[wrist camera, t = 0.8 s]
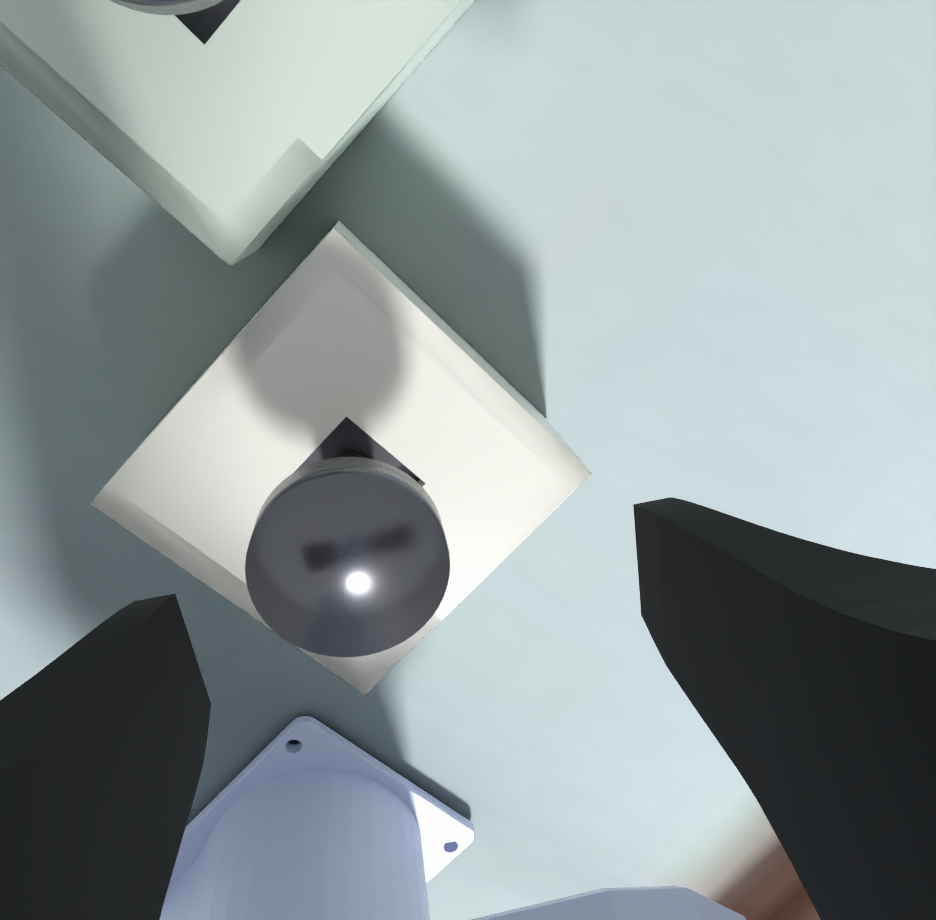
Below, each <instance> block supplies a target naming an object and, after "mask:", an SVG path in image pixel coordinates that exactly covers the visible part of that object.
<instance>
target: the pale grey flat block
mask: <svg viewBox="0 0 936 920" xmlns="http://www.w3.org/2000/svg"><path fill="white" fill-rule="evenodd" d="M474 1H475V0H241V1H240V2H239V3H238V4H237V6H236V7H235V8H234V9H233V10H232V12H231V13H230V14H229V15H228V17H227V18H226V19H225V20H224V22H223V23H222V24H221V25H220V26H219V28H218V29H217V30H216V31H215V33H214V34H213V35H212V36H211V37H210V39H209V40H208V41H207V42H206V44H205V45H204V44H203V43H202V42H201V41H200V40H199V39H198V38H197V37H196V36H195V35H194V34H193V33H192V32H191V31H190V30H189V29H188V28H187V27H186V26H185V25H184V24H183V23H182V22H181V21H180V20H179V19H178V18H177V17H176V16H175V15H158V14H148V13H144V12H140V11H135V10H132V9H129V8H126V7H124V6H121V5H118V4H116V3H114V2H112V1H110V0H0V66H1V67H3V68H4V69H5V70H6V71H7V72H8V73H9V74H11V75H12V76H13V77H14V78H15V79H16V80H17V81H19V82H20V83H21V84H22V85H23V86H24V87H25V88H27V89H28V90H29V91H30V92H31V93H32V94H33V95H35V96H36V97H37V98H38V99H39V100H40V101H41V102H43V103H44V104H45V105H46V106H47V107H48V108H49V109H51V110H52V111H53V112H54V113H55V114H56V115H57V116H59V117H60V118H61V119H62V120H63V121H64V122H65V123H67V124H68V125H69V126H70V127H71V128H72V129H73V130H75V131H76V132H77V133H78V134H79V135H80V136H81V137H83V138H84V139H85V140H86V141H87V142H88V143H89V144H91V145H92V146H93V147H94V148H95V149H96V150H97V151H99V152H100V153H101V154H102V155H103V156H104V157H105V158H107V159H108V160H109V161H110V162H111V163H112V164H113V165H115V166H116V167H117V168H118V169H119V170H120V171H121V172H123V173H124V174H125V175H126V176H127V177H128V178H129V179H130V180H132V181H133V182H134V183H135V184H136V185H137V186H138V187H140V188H141V189H142V190H143V191H144V192H145V193H146V194H148V195H149V196H150V197H151V198H152V199H153V200H154V201H156V202H157V203H158V204H159V205H160V206H161V207H162V208H164V209H165V210H166V211H167V212H168V213H169V214H170V215H172V216H173V217H174V218H175V219H176V220H177V221H178V222H180V223H181V224H182V225H183V226H184V227H185V228H186V229H188V230H189V231H190V232H191V233H192V234H193V235H194V236H196V237H197V238H198V239H199V240H200V241H201V242H202V243H204V244H205V245H206V246H207V247H208V248H209V249H210V250H212V251H213V252H214V253H215V254H216V255H217V256H218V257H220V258H221V259H222V260H223V261H224V262H225V263H226V264H228V265H229V266H231V265H233V264H235V263H237V262H238V261H240V260H242V259H243V258H245V257H247V256H249V255H250V254H252V253H254V252H255V251H257V250H258V249H259V248H260V247H261V246H262V245H263V243H264V242H265V241H266V240H267V239H268V238H269V237H270V235H271V234H272V233H273V232H274V231H275V230H276V228H277V227H278V226H279V225H280V224H281V223H282V222H283V220H284V219H285V218H286V217H287V216H288V215H289V214H290V212H291V211H292V210H293V209H294V208H295V207H296V206H297V204H298V203H299V202H300V201H301V200H302V199H303V198H304V196H305V195H306V194H307V193H308V192H309V191H310V190H311V188H312V187H313V186H314V185H315V184H316V183H317V181H318V180H319V179H320V178H321V177H322V176H323V175H324V173H325V172H326V171H327V170H328V169H329V168H330V167H331V165H332V164H333V163H334V162H335V161H336V160H337V159H338V157H339V156H340V155H341V154H342V153H343V152H344V151H345V149H346V148H347V147H348V146H349V145H350V144H351V143H352V141H353V140H354V139H355V138H356V137H357V136H358V134H359V133H360V132H361V131H362V130H363V129H364V128H365V126H366V125H367V124H368V123H369V122H370V121H371V120H372V118H373V117H374V116H375V115H376V114H377V113H378V112H379V110H380V109H381V108H382V107H383V106H384V105H385V104H386V102H387V101H388V100H389V99H390V98H391V97H392V96H393V94H394V93H395V92H396V91H397V90H398V89H399V88H400V86H401V85H402V84H403V83H404V82H405V81H406V79H407V78H408V77H409V76H410V75H411V74H412V73H413V71H414V70H415V69H416V68H417V67H418V66H419V65H420V63H421V62H422V61H423V60H424V59H425V58H426V57H427V55H428V54H429V53H430V52H431V51H432V50H433V49H434V47H435V46H436V45H437V44H438V43H439V42H440V41H441V39H442V38H443V37H444V36H445V35H446V34H447V32H448V31H449V30H450V29H451V28H452V27H453V26H454V24H455V23H456V22H457V21H458V20H459V19H460V18H461V16H462V15H463V14H464V13H465V12H466V11H467V10H468V8H469V7H470V6H471V5H472V4H473V2H474Z"/></svg>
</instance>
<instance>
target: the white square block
mask: <svg viewBox="0 0 936 920" xmlns="http://www.w3.org/2000/svg"><path fill="white" fill-rule="evenodd" d="M346 416H347V417H348V418H349V419H350V420H351V421H353V422H354V423H355V424H356V425H357V426H359V427H360V428H361V429H362V430H363V431H364V432H366V433H367V434H368V435H369V436H370V437H371V438H373V439H374V440H375V441H376V442H377V443H379V444H380V445H381V446H382V447H383V448H384V449H386V450H387V451H388V452H389V453H390V454H392V455H393V456H394V457H395V458H396V459H397V460H399V461H400V462H401V463H402V464H403V465H404V466H406V467H407V468H408V469H409V470H410V471H412V472H413V473H414V474H415V475H416V476H417V477H419V478H420V480H419V481H418V483H419V484H420V485H421V486H422V487H423V488H424V490H425V491H426V492H427V493H428V495H429V496H430V497H431V499H432V501H433V502H434V504H435V506H436V508H437V510H438V513H439V515H440V518H441V522H442V526H443V529H444V533H445V537H446V541H447V545H448V549H449V556H450V575H449V580H448V585H447V589H446V591H445V594H444V597H443V599H442V601H441V603H440V605H439V607H438V609H437V610H436V612H435V613H434V615H433V616H432V617H431V619H430V620H429V621H428V622H427V623H426V624H425V625H424V626H423V627H422V628H421V629H420V630H419V631H418V632H417V633H415V634H414V635H413V636H411V637H410V638H408V639H407V640H405V641H404V642H402V643H400V644H398V645H396V646H394V647H392V648H390V649H387V650H385V651H382V652H379V653H375V654H371V655H366V656H359V657H331V656H325V655H320V654H316V653H313V652H310V651H306V650H304V649H302V648H299V647H297V646H295V645H294V646H295V647H296V648H298V649H299V650H301V651H302V652H304V653H305V654H306V655H308V656H309V657H311V658H312V659H314V660H315V661H317V662H318V663H319V664H321V665H322V666H324V667H325V668H327V669H328V670H330V671H331V672H332V673H334V674H335V675H337V676H338V677H340V678H341V679H342V680H344V681H345V682H347V683H348V684H350V685H351V686H353V687H354V688H355V689H357V690H358V691H360V692H361V693H363V694H364V695H366V694H367V693H368V692H369V691H370V690H371V689H372V688H373V687H374V686H375V685H376V684H377V683H378V682H379V681H380V680H381V679H382V678H383V677H384V676H385V675H386V674H388V673H389V672H390V671H391V670H392V669H393V668H394V667H395V666H396V665H397V664H398V663H399V662H400V661H401V660H402V659H403V658H404V657H405V656H406V655H407V654H408V653H409V652H410V651H411V650H412V649H413V648H414V647H415V646H416V645H417V644H418V643H419V642H420V641H421V640H422V639H423V638H424V637H425V636H426V635H427V634H428V633H429V632H430V631H432V630H433V629H434V628H435V627H436V626H437V625H438V624H439V623H440V622H441V621H442V620H443V619H444V618H445V617H446V616H447V615H448V614H449V613H450V612H451V611H452V610H453V609H454V608H455V607H456V606H457V605H458V604H459V603H460V602H461V601H462V600H463V599H464V598H465V597H466V596H467V595H468V594H469V593H470V592H471V591H472V590H473V589H474V588H476V587H477V586H478V585H479V584H480V583H481V582H482V581H483V580H484V579H485V578H486V577H487V576H488V575H489V574H490V573H491V572H492V571H493V570H494V569H495V568H496V567H497V566H498V565H499V564H500V563H501V562H502V561H503V560H504V559H505V558H506V557H507V556H508V555H509V554H510V553H511V552H512V551H513V550H514V549H515V548H516V547H517V546H518V545H520V544H521V543H522V542H523V541H524V540H525V539H526V538H527V537H528V536H529V535H530V534H531V533H532V532H533V531H534V530H535V529H536V528H537V527H538V526H539V525H540V524H541V523H542V522H543V521H544V520H545V519H546V518H547V517H548V516H549V515H550V514H551V513H552V512H553V511H554V510H555V509H556V508H557V507H558V506H559V505H560V504H561V503H562V502H563V501H565V500H566V499H567V498H568V497H569V496H570V495H571V494H572V493H573V492H574V491H575V490H576V489H577V488H578V487H579V486H580V485H581V484H582V483H583V482H584V481H585V480H586V479H587V478H588V477H589V476H590V475H591V474H592V473H591V472H590V470H589V469H588V468H587V467H586V466H585V464H584V463H583V462H582V461H581V460H580V458H579V457H578V456H577V455H576V454H575V452H574V451H573V450H572V449H571V448H570V446H569V445H568V444H567V443H566V442H565V440H564V439H563V438H562V437H561V436H560V434H559V433H558V432H557V431H556V430H555V428H554V427H553V426H552V425H551V424H550V422H549V421H548V420H547V419H546V418H545V417H544V416H543V415H542V414H541V413H540V412H539V411H538V410H537V409H535V408H534V407H533V406H532V405H531V404H530V403H529V402H528V401H527V400H526V399H525V398H524V397H523V396H522V395H521V394H520V393H519V392H518V391H517V390H516V389H515V388H514V387H513V386H511V385H510V384H509V383H508V382H507V381H506V380H505V379H504V378H503V377H502V376H501V375H500V374H499V373H498V372H497V371H496V370H495V369H494V368H493V367H492V366H491V365H490V364H488V363H487V362H486V361H485V360H484V359H483V358H482V357H481V356H480V355H479V354H478V353H477V352H476V351H475V350H474V349H473V348H472V347H471V346H470V345H469V344H468V343H467V342H466V341H464V340H463V339H462V338H461V337H460V336H459V335H458V334H457V333H456V332H455V331H454V330H453V329H452V328H451V327H450V326H449V325H448V324H447V323H446V322H445V321H444V320H443V319H441V318H440V317H439V316H438V315H437V314H436V313H435V312H434V311H433V310H432V309H431V308H430V307H429V306H428V305H427V304H426V303H425V302H424V301H423V300H422V299H421V298H420V297H419V296H417V295H416V294H415V293H414V292H413V291H412V290H411V289H410V288H409V287H408V286H407V285H406V284H405V283H404V282H403V281H402V280H401V279H400V278H399V277H398V276H397V275H396V274H394V273H393V272H392V271H391V270H390V269H389V268H388V267H387V266H386V265H385V264H384V263H383V262H382V261H381V260H380V259H379V258H378V257H377V256H376V255H375V254H374V253H373V252H372V251H370V250H369V249H368V248H367V247H366V246H365V245H364V244H363V243H362V242H361V241H360V240H359V239H358V238H357V237H356V236H355V235H354V234H353V233H352V232H351V231H350V230H349V229H348V228H346V227H345V226H344V225H343V224H342V223H341V222H340V221H338V222H337V223H336V224H335V225H334V226H333V227H332V229H331V230H330V231H329V232H328V233H327V234H326V235H325V237H324V238H323V239H322V240H321V241H320V242H319V243H318V244H317V246H316V247H315V248H314V249H313V250H312V251H311V252H310V253H309V255H308V256H307V257H306V258H305V259H304V260H303V261H302V262H301V264H300V265H299V266H298V267H297V268H296V269H295V270H294V271H293V273H292V274H291V275H290V276H289V277H288V278H287V279H286V280H285V282H284V283H283V284H282V285H281V286H280V287H279V288H278V289H277V291H276V292H275V293H274V294H273V295H272V296H271V297H270V299H269V300H268V301H267V302H266V303H265V304H264V305H263V306H262V308H261V309H260V310H259V311H258V312H257V313H256V314H255V315H254V317H253V318H252V319H251V320H250V321H249V322H248V323H247V324H246V326H245V327H244V328H243V329H242V330H241V331H240V332H239V333H238V335H237V336H236V337H235V338H234V339H233V340H232V341H231V342H230V344H229V345H228V346H227V347H226V348H225V349H224V350H223V351H222V353H221V354H220V355H219V356H218V357H217V358H216V359H215V361H214V362H213V363H212V364H211V365H210V366H209V367H208V368H207V370H206V371H205V372H204V373H203V374H202V375H201V376H200V377H199V379H198V380H197V381H196V382H195V383H194V384H193V385H192V386H191V388H190V389H189V390H188V391H187V392H186V393H185V394H184V395H183V397H182V398H181V399H180V400H179V401H178V402H177V403H176V404H175V406H174V407H173V408H172V409H171V410H170V411H169V412H168V413H167V415H166V416H165V417H164V418H163V419H162V420H161V421H160V423H159V424H158V425H157V426H156V427H155V428H154V429H153V430H152V432H151V433H150V434H149V435H148V436H147V437H146V438H145V439H144V441H143V442H142V443H141V444H140V445H139V446H138V448H137V449H136V450H135V451H134V452H133V453H132V455H131V456H130V457H129V458H128V459H127V460H126V461H125V463H124V464H123V465H122V466H121V467H120V468H119V470H118V471H117V472H116V473H115V474H114V475H113V477H112V478H111V479H110V480H109V481H108V482H107V484H106V485H105V486H104V487H103V488H102V489H101V491H100V492H99V493H98V494H97V495H96V496H95V497H94V499H93V500H92V501H91V502H90V503H89V504H91V505H92V506H94V507H95V508H96V509H98V510H99V511H101V512H102V513H104V514H105V515H106V516H108V517H109V518H111V519H112V520H114V521H115V522H117V523H118V524H119V525H121V526H122V527H124V528H125V529H127V530H128V531H129V532H131V533H132V534H134V535H135V536H137V537H138V538H140V539H141V540H142V541H144V542H145V543H147V544H148V545H150V546H151V547H153V548H154V549H155V550H157V551H158V552H160V553H161V554H163V555H164V556H165V557H167V558H168V559H170V560H171V561H173V562H174V563H176V564H177V565H178V566H180V567H181V568H183V569H184V570H186V571H187V572H188V573H190V574H191V575H193V576H194V577H196V578H197V579H199V580H200V581H201V582H203V583H204V584H206V585H207V586H209V587H210V588H212V589H213V590H214V591H216V592H217V593H219V594H220V595H222V596H223V597H224V598H226V599H227V600H229V601H230V602H232V603H233V604H235V605H236V606H237V607H239V608H240V609H242V610H243V611H245V612H246V613H247V614H249V615H250V616H252V617H253V618H255V619H256V620H258V621H259V622H260V623H262V624H263V625H265V626H266V627H268V628H269V629H271V628H270V627H269V626H268V625H267V624H266V623H265V621H264V620H263V619H262V617H261V616H260V615H259V613H258V612H257V610H256V608H255V606H254V604H253V602H252V600H251V597H250V595H249V592H248V588H247V583H246V577H245V561H246V553H247V549H248V545H249V542H250V538H251V535H252V532H253V529H254V525H255V522H256V519H257V517H258V514H259V512H260V509H261V507H262V506H263V504H264V502H265V501H266V499H267V497H268V496H269V495H270V494H271V492H272V491H273V490H274V489H275V488H276V487H277V486H278V485H279V484H280V483H281V482H282V481H283V480H284V479H286V478H287V477H288V476H290V475H291V474H293V473H294V472H295V471H296V470H297V468H298V467H299V466H300V465H301V464H302V463H303V462H304V461H305V460H306V459H307V458H308V457H309V456H310V455H311V454H312V453H313V451H314V450H315V449H316V448H317V447H318V446H319V445H320V444H321V443H322V442H323V441H324V440H325V439H326V438H327V437H328V435H329V434H330V433H331V432H332V431H333V430H334V429H335V428H336V427H337V426H338V425H339V424H340V423H341V422H342V421H343V419H344V418H345V417H346ZM271 630H272V629H271ZM272 631H273V630H272ZM273 632H274V631H273ZM275 633H276V632H275ZM276 634H277V633H276ZM289 643H290V642H289ZM292 645H293V644H292Z"/></svg>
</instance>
